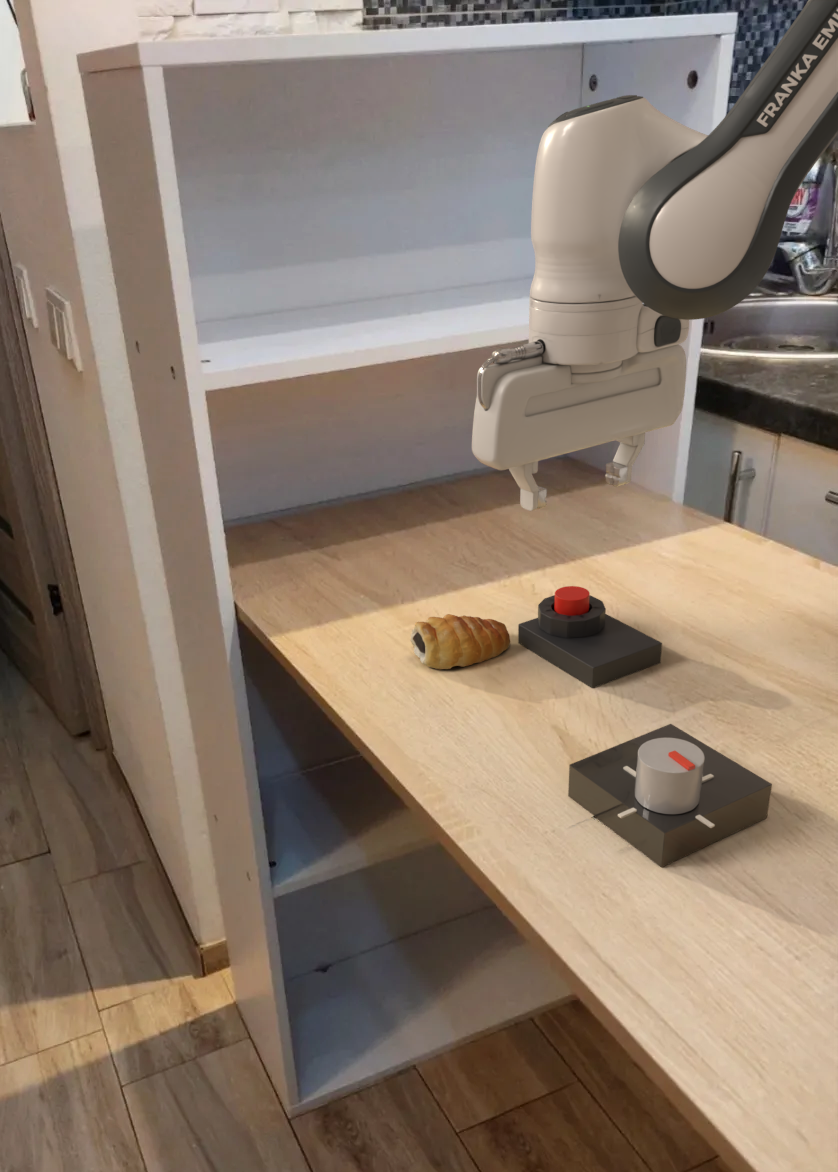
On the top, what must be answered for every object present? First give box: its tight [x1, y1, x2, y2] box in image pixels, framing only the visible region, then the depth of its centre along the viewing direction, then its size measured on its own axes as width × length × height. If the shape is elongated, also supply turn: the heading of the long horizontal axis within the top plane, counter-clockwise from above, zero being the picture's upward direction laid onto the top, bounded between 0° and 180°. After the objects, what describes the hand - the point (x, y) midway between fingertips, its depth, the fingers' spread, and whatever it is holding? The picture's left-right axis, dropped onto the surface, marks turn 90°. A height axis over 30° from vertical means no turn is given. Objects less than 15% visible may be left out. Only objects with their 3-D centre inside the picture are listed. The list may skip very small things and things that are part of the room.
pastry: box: [409, 613, 511, 671], centre depth 99 cm, size 9×7×4 cm
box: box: [517, 594, 663, 689], centre depth 96 cm, size 8×11×4 cm
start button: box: [554, 585, 591, 616], centre depth 97 cm, size 3×3×2 cm
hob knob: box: [635, 738, 705, 814], centre depth 71 cm, size 4×4×4 cm
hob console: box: [567, 723, 773, 868], centre depth 75 cm, size 11×11×3 cm
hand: (576, 495), depth 90 cm, fingers open, 8 cm apart
